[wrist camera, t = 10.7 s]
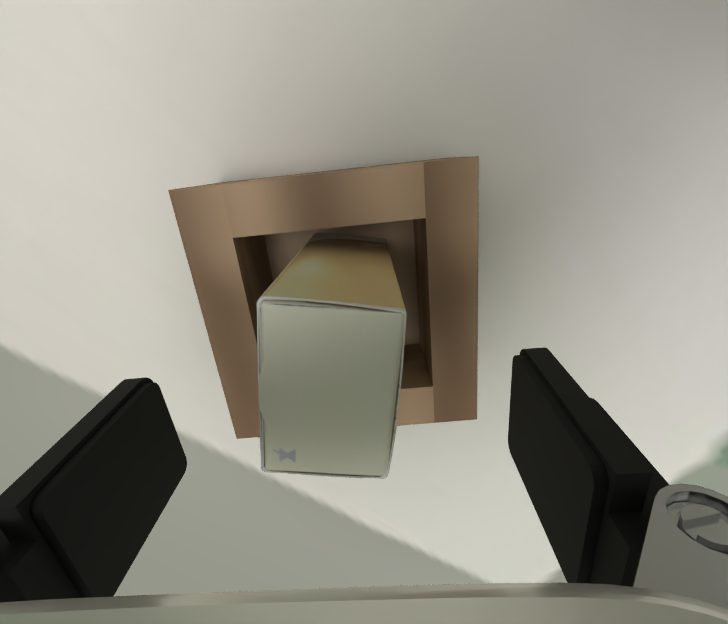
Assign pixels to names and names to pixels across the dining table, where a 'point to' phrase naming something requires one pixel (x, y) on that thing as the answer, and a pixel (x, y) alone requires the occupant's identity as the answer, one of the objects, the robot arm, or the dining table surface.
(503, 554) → the dining table surface
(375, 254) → the skincare box
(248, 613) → the robot arm
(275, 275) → the socket block
